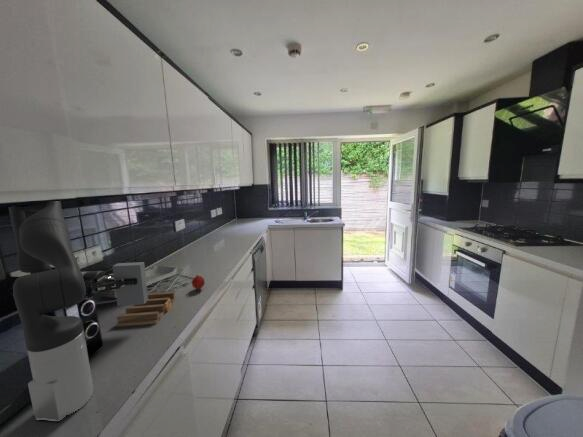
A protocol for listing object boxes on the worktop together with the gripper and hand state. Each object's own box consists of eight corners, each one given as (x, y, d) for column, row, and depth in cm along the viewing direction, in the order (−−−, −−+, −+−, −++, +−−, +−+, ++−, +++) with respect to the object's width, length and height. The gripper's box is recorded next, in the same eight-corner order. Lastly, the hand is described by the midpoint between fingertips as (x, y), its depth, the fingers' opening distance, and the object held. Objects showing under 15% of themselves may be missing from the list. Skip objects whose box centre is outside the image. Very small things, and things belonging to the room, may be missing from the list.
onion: (192, 288, 116) (191, 273, 115) (204, 286, 118) (203, 271, 117) (192, 293, 111) (191, 277, 109) (205, 291, 113) (203, 275, 111)
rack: (159, 323, 87) (158, 314, 86) (116, 326, 85) (115, 318, 84) (177, 297, 106) (177, 290, 106) (143, 300, 105) (142, 292, 104)
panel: (144, 304, 84) (140, 264, 82) (117, 305, 83) (112, 266, 80) (148, 300, 87) (144, 262, 85) (122, 301, 86) (117, 263, 83)
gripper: (69, 280, 74) (127, 277, 76) (99, 265, 88) (147, 262, 90) (72, 302, 75) (130, 298, 78) (101, 283, 89) (149, 280, 91)
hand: (139, 279), depth 84 cm, fingers closed on panel, 3 cm apart
